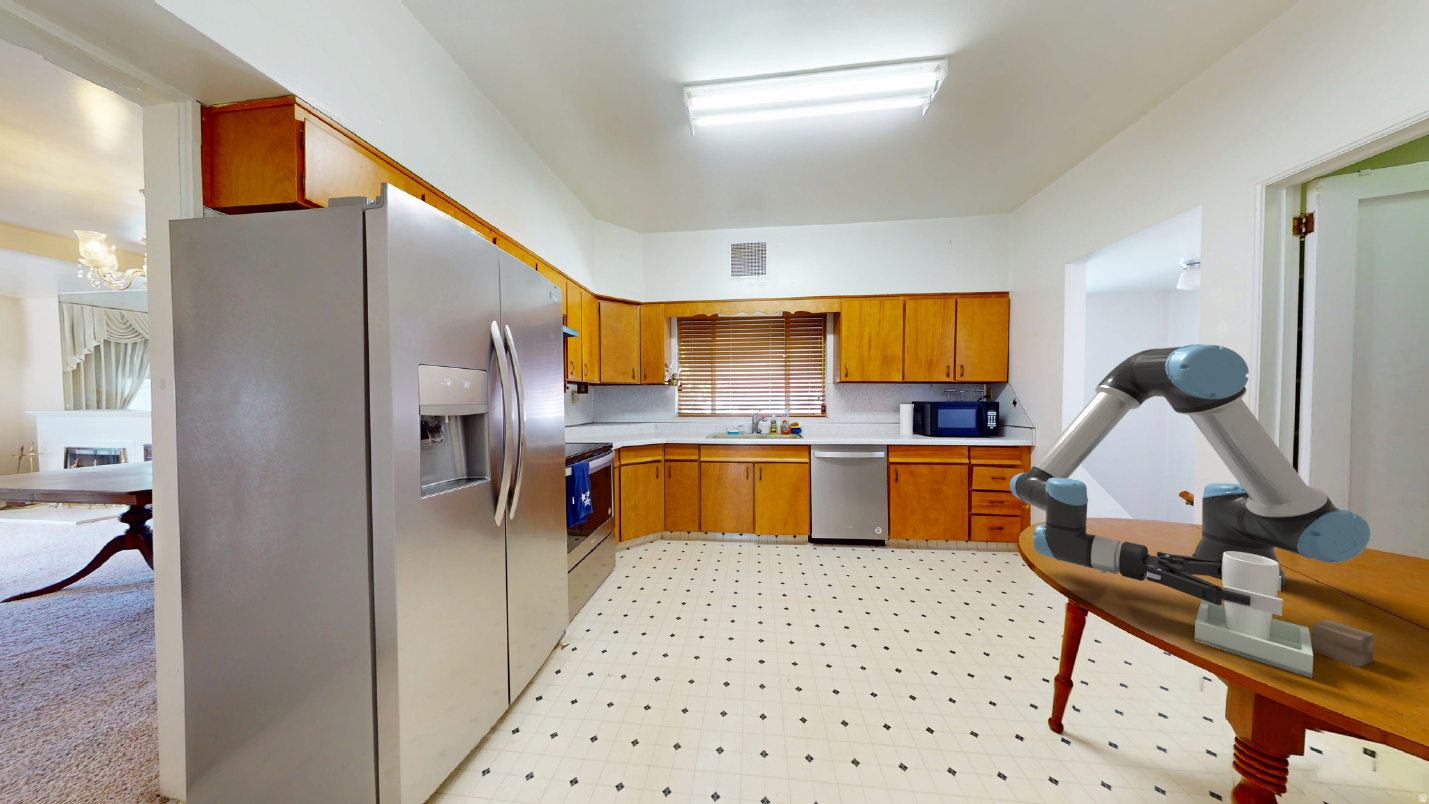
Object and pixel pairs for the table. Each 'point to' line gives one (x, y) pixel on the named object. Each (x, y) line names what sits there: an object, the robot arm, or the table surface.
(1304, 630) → the tray
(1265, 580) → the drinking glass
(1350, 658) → the walnut block
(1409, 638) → the table surface
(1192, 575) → the robot arm
